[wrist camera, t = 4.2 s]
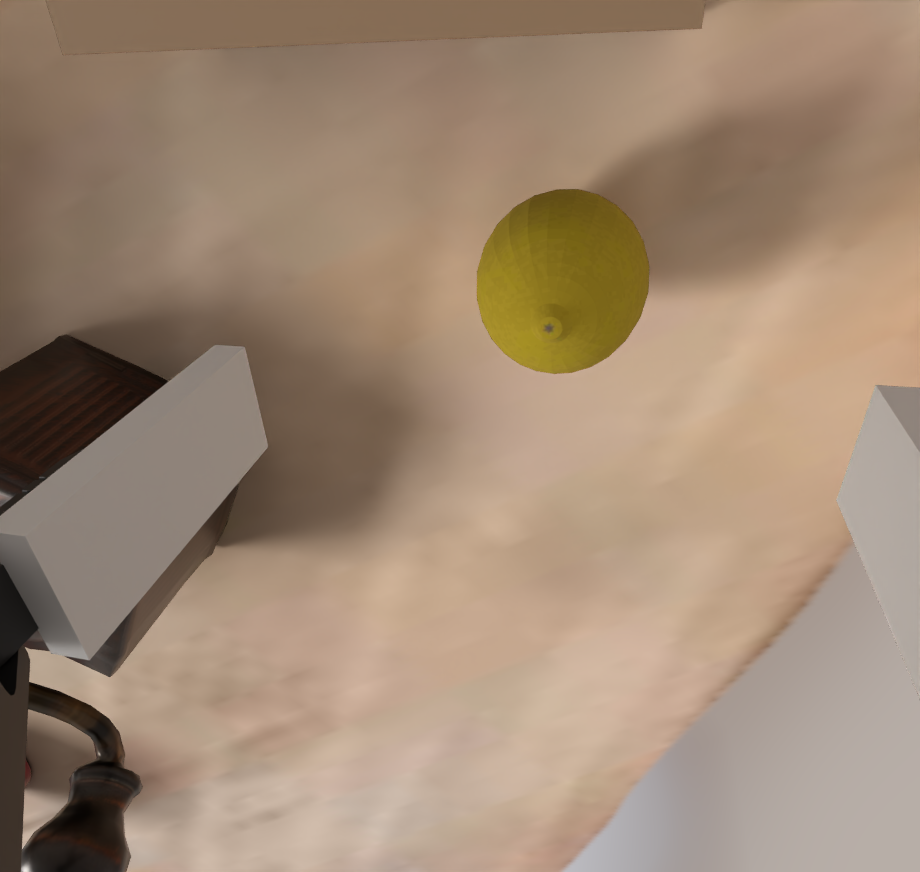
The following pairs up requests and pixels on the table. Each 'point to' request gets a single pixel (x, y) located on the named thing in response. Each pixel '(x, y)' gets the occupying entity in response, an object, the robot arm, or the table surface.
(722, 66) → the table surface
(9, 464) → the coffee grinder
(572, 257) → the lemon
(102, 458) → the robot arm
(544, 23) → the plinth
